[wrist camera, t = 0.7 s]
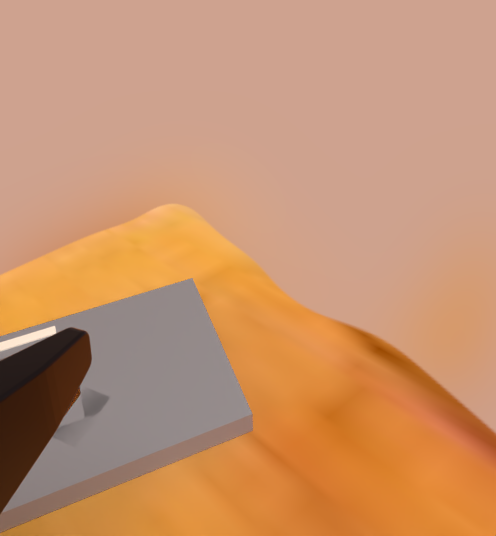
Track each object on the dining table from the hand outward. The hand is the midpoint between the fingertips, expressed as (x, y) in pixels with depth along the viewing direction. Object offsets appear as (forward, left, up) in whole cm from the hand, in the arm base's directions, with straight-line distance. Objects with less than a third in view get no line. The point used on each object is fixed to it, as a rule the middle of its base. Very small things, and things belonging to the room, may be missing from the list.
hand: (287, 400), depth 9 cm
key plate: (+2, +13, -16) cm, 21 cm away
